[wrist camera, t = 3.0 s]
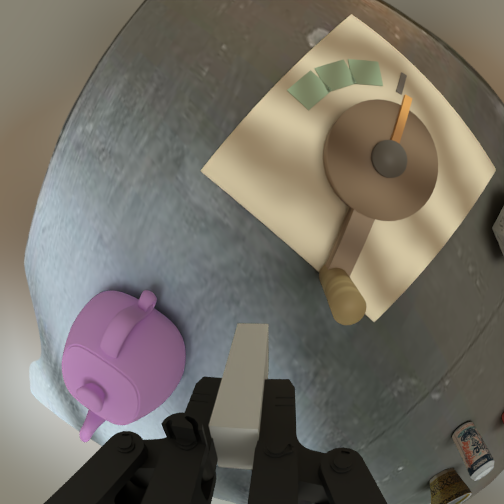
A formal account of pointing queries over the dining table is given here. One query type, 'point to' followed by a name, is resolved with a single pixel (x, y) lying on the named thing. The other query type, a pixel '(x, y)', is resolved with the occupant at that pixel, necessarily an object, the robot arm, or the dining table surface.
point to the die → (499, 229)
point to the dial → (372, 186)
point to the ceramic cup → (448, 488)
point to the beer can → (473, 451)
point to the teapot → (121, 359)
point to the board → (312, 167)
